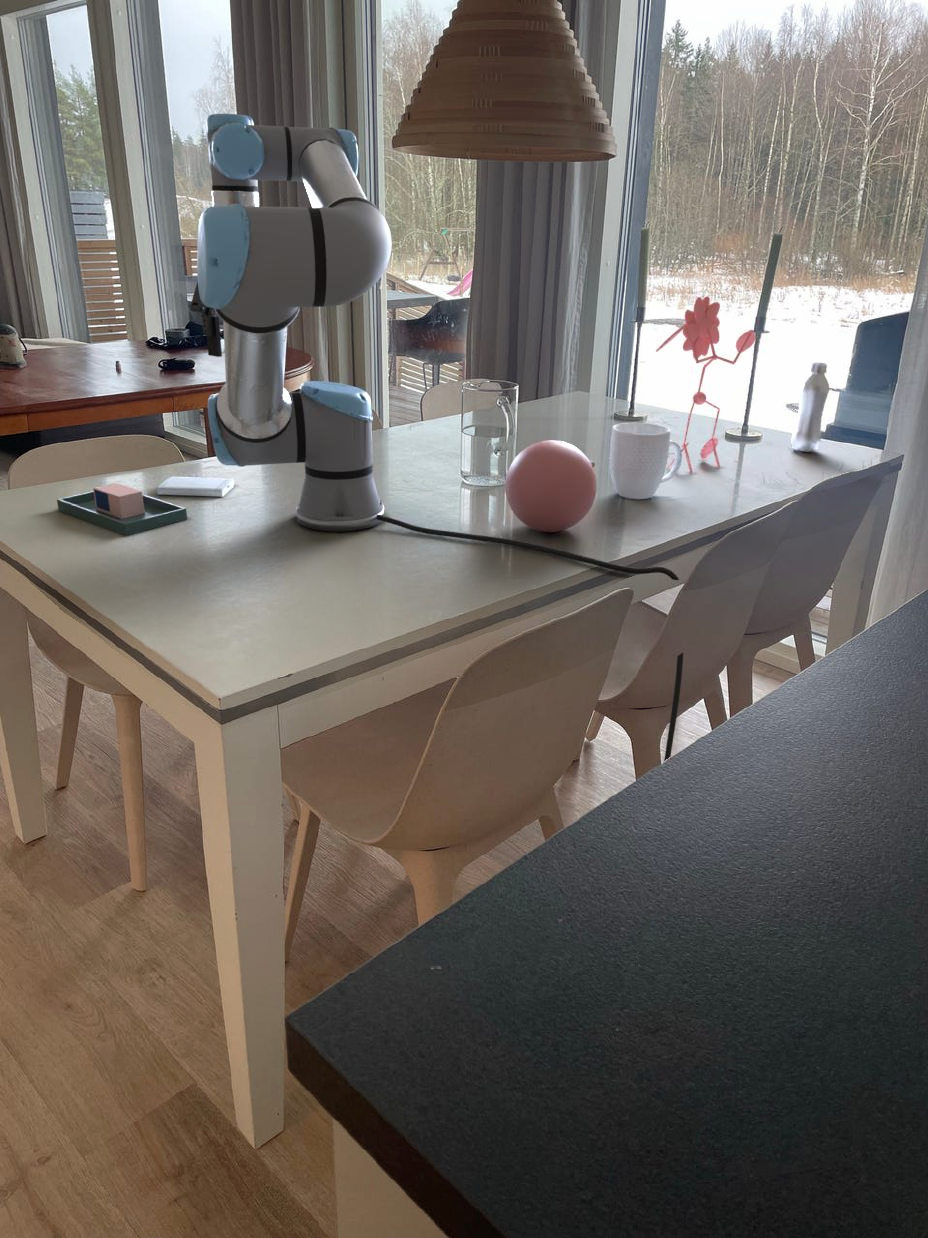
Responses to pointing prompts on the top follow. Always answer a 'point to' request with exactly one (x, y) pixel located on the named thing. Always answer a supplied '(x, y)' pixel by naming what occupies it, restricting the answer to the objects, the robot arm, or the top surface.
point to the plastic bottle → (811, 409)
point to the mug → (641, 458)
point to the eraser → (119, 500)
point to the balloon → (551, 486)
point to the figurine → (699, 338)
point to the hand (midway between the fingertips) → (246, 352)
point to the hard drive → (195, 486)
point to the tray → (152, 518)
